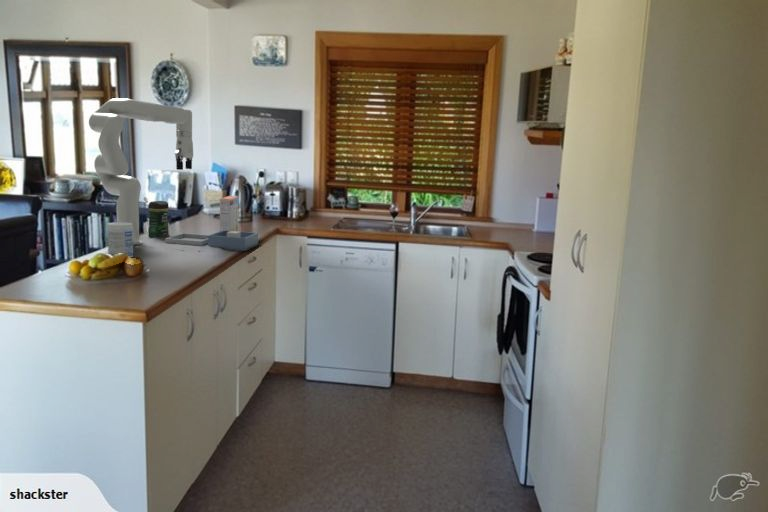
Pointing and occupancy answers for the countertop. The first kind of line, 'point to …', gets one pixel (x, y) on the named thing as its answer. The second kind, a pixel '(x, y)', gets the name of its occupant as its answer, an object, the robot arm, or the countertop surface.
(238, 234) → the stone block
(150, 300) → the countertop surface
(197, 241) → the tray
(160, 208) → the coffee jar
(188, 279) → the countertop surface
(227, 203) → the cracker box
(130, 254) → the supplement tub
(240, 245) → the bin
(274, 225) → the countertop surface
